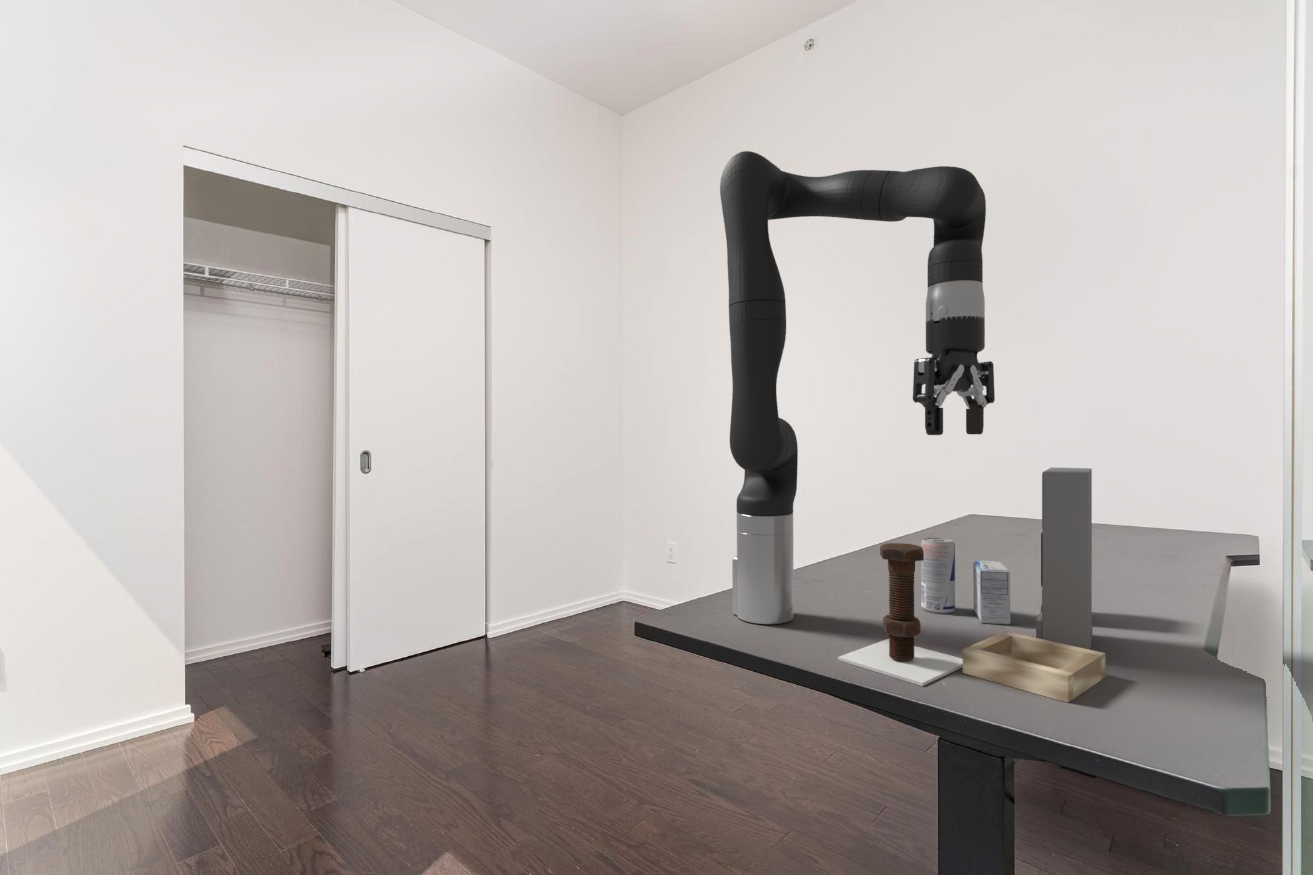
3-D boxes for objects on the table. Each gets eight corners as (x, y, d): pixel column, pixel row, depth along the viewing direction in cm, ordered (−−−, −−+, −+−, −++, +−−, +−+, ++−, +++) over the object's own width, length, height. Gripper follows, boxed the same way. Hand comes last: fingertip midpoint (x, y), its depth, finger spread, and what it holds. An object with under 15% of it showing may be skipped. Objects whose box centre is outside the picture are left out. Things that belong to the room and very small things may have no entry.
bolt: (926, 667, 85) (925, 550, 85) (884, 665, 86) (884, 549, 86) (917, 652, 90) (917, 543, 90) (879, 650, 91) (878, 542, 91)
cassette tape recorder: (1044, 629, 102) (1045, 467, 102) (1092, 636, 99) (1092, 468, 98) (1035, 654, 91) (1035, 472, 91) (1088, 663, 87) (1088, 473, 87)
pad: (838, 659, 89) (838, 656, 89) (887, 641, 97) (887, 638, 97) (922, 686, 80) (922, 682, 80) (969, 663, 87) (969, 660, 87)
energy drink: (957, 608, 114) (957, 538, 114) (952, 615, 110) (952, 543, 110) (924, 604, 117) (924, 536, 117) (918, 611, 113) (918, 540, 113)
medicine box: (1010, 625, 104) (1010, 570, 104) (979, 623, 106) (979, 569, 106) (1002, 612, 112) (1002, 561, 112) (972, 610, 113) (972, 559, 113)
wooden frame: (962, 672, 84) (962, 649, 84) (1004, 652, 92) (1004, 630, 92) (1068, 702, 75) (1068, 676, 75) (1105, 677, 82) (1105, 653, 82)
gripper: (963, 325, 99) (963, 434, 99) (897, 318, 92) (897, 435, 92) (1011, 318, 93) (1011, 434, 93) (944, 309, 86) (944, 435, 86)
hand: (954, 434), depth 93 cm, fingers open, 8 cm apart
